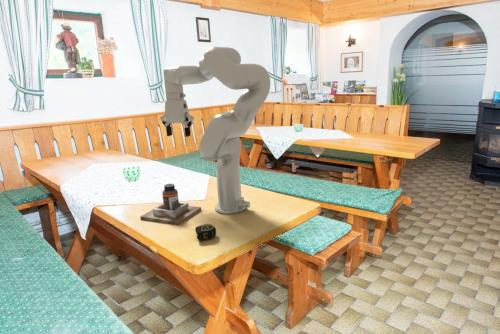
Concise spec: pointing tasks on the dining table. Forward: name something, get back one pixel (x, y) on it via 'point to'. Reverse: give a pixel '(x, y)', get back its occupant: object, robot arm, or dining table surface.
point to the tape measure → (205, 231)
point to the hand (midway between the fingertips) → (178, 136)
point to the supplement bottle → (170, 197)
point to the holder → (171, 214)
